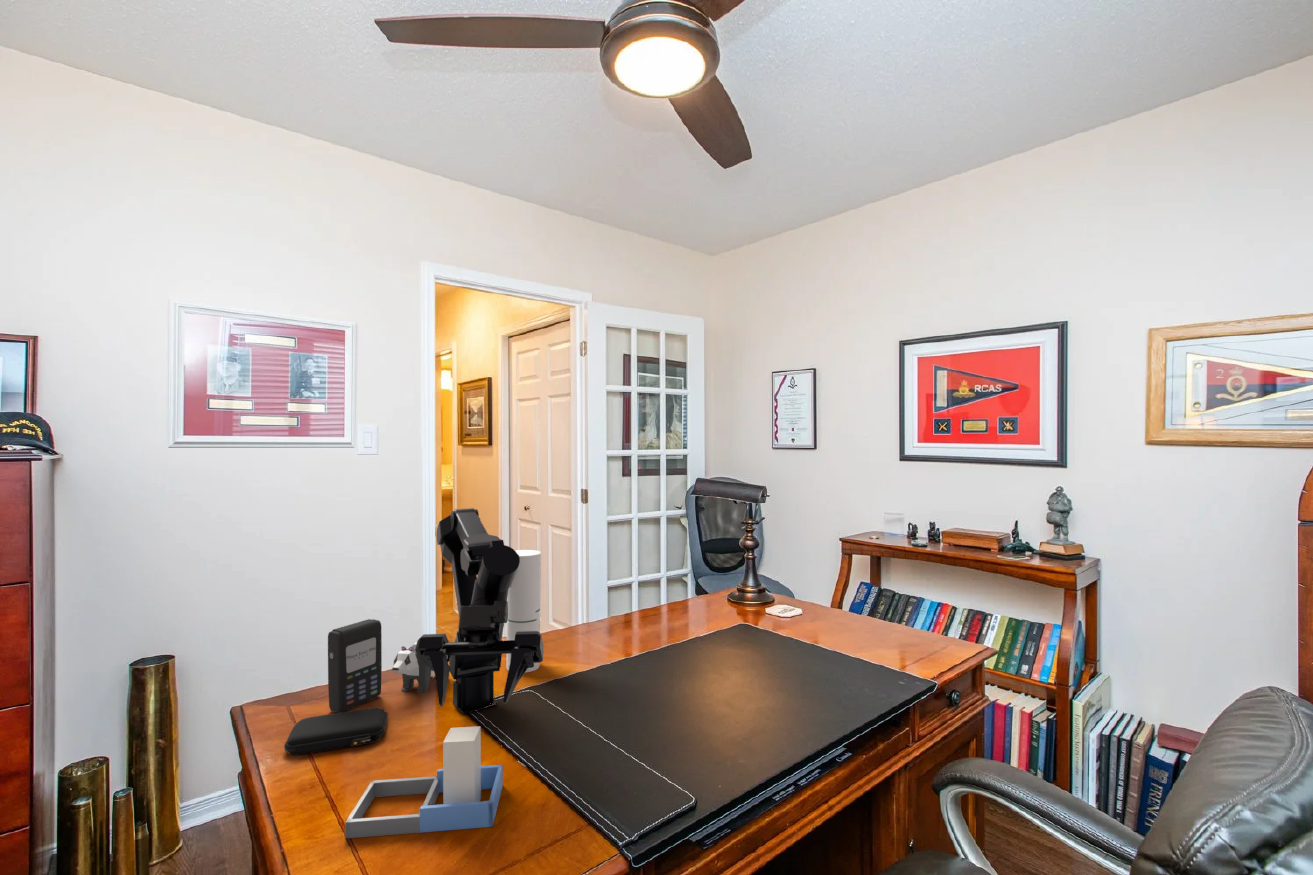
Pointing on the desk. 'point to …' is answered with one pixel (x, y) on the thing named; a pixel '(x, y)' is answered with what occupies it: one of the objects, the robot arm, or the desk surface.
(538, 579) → the cylindrical container
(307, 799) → the desk surface
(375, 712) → the carrying case or bag
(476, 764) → the white rectangular block
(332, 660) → the card reader
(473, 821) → the organizer
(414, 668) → the giant panda
